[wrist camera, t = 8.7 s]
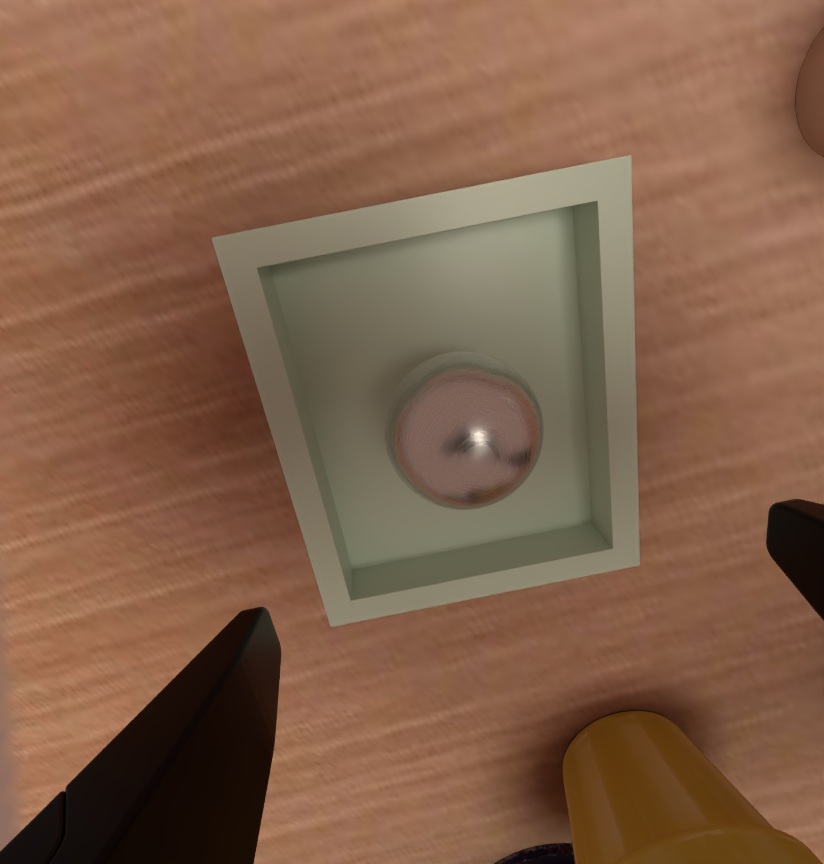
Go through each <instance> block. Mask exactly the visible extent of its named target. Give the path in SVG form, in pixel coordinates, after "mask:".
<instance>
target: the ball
mask: <svg viewBox="0 0 824 864" xmlns="http://www.w3.org/2000/svg"><path fill="white" fill-rule="evenodd" d="M543 436H544V428H543V417H542V412H541V409H540V405H539V402H538V400H537V398H536V396H535V394H534V391H533V390H532V388H531V387H530V385H529V384H528V382H527V381H526V380H525V379H524V378H523V377H522V376H521V375H520V374H519V372H517V371H516V370H515V369H514V368H512V367H511V366H510V365H508V364H506V363H505V362H503V361H501V360H499V359H497V358H495V357H493V356H490V355H487V354H483V353H479V352H471V351H457V352H450V353H445V354H441V355H438V356H435V357H433V358H430V359H428V360H426V361H425V362H423V363H421V364H420V365H418V366H417V367H416V368H414V369H413V370H412V371H411V372H410V373H409V374H408V375H407V376H405V378H404V379H403V380H402V381H401V383H400V384H399V385H398V387H397V388H396V390H395V392H394V393H393V395H392V397H391V400H390V402H389V404H388V408H387V411H386V416H385V424H384V439H385V445H386V449H387V453H388V456H389V459H390V462H391V464H392V466H393V468H394V470H395V471H396V473H397V474H398V476H399V477H400V479H401V480H402V481H403V482H404V483H405V485H406V486H407V487H408V488H409V489H411V490H412V491H413V492H414V493H415V494H417V495H418V496H420V497H421V498H423V499H424V500H426V501H428V502H430V503H432V504H435V505H438V506H441V507H445V508H450V509H456V510H472V509H479V508H483V507H487V506H490V505H493V504H495V503H498V502H500V501H501V500H503V499H505V498H507V497H508V496H510V495H511V494H513V493H514V492H515V491H516V490H517V489H518V488H520V487H521V486H522V484H523V483H524V482H525V481H526V480H527V479H528V477H529V476H530V474H531V473H532V471H533V469H534V467H535V466H536V463H537V461H538V458H539V456H540V453H541V449H542V445H543Z"/></svg>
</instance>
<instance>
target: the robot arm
mask: <svg viewBox="0 0 824 864" xmlns="http://www.w3.org/2000/svg"><path fill="white" fill-rule="evenodd" d="M766 545H767V549H768V552H769V554H770V556H771V557H772V559H773V560H774V561H775V562H776V564H777V565H778V566H779V567H780V568H781V570H782V571H783V572H784V573H785V574H786V576H787V577H788V578H789V579H790V580H791V582H792V583H793V584H794V585H795V587H796V588H797V589H798V590H799V591H800V593H801V594H802V595H803V596H804V597H805V599H806V600H807V601H808V602H809V604H810V605H811V606H812V607H813V608H814V610H815V611H816V612H817V613H818V614H819V616H820V617H821V618H822V619H823V620H824V505H823V504H819V503H814V502H810V501H805V500H801V499H793V500H788V501H783V502H778V503H775V504H773V505H772V506H771V507H770V509H769V515H768V526H767V538H766ZM280 665H281V647H280V642H279V639H278V636H277V634H276V631H275V628H274V625H273V623H272V620H271V617H270V614H269V612H268V611H267V609H266V608H264V607H257V608H252V609H247V610H243V611H241V612H240V613H239V614H238V615H237V616H236V617H235V618H234V619H233V620H232V621H231V622H230V623H229V624H228V625H227V626H226V627H225V628H224V629H223V630H222V631H221V632H220V633H219V634H218V635H217V636H216V637H215V638H214V639H213V640H212V641H211V642H210V643H209V644H208V645H207V646H206V647H205V648H204V649H203V650H202V651H201V652H200V653H199V654H198V655H197V656H196V657H195V658H194V659H193V660H192V661H191V662H190V663H189V664H188V665H187V666H186V667H185V668H184V669H183V670H182V671H181V672H180V673H179V674H178V675H177V676H176V677H175V678H174V679H173V680H172V681H171V682H170V683H169V684H168V685H167V686H166V687H165V688H164V689H163V690H162V691H161V692H160V693H159V694H158V695H157V696H156V697H155V698H154V699H153V700H152V701H151V702H150V703H149V704H148V705H147V706H146V707H145V708H144V709H143V710H142V711H141V712H140V713H139V714H138V715H137V716H136V717H135V718H134V719H133V720H132V721H131V722H130V723H129V724H128V725H127V726H126V727H125V728H124V729H123V730H122V731H121V732H120V733H119V734H118V735H117V736H116V737H115V738H114V739H113V740H112V741H111V742H110V743H109V744H108V745H107V746H106V747H105V748H104V749H103V750H102V751H101V752H100V753H99V754H98V755H97V756H96V757H95V758H94V759H93V760H92V761H91V762H90V763H89V764H88V765H87V766H86V767H85V768H84V769H83V770H82V771H81V772H80V773H79V774H78V775H77V776H76V777H75V778H74V779H73V780H72V781H71V782H70V783H69V784H68V785H67V787H66V790H65V792H64V791H62V792H60V793H59V794H58V795H57V796H56V797H55V798H54V799H53V800H52V801H51V802H50V803H49V804H48V805H47V806H46V807H45V808H44V809H43V810H42V811H41V812H40V813H39V814H38V815H37V816H36V817H35V818H34V819H33V820H32V821H31V822H30V823H29V824H28V825H27V826H26V827H25V828H24V829H23V830H22V831H21V832H20V833H19V834H18V835H17V836H16V837H15V838H14V839H12V840H11V841H10V842H9V844H7V845H6V846H5V847H4V848H3V849H2V850H1V851H0V864H254V858H255V852H256V847H257V841H258V836H259V830H260V825H261V819H262V813H263V808H264V802H265V797H266V791H267V786H268V780H269V774H270V769H271V763H272V757H273V751H274V744H275V733H276V720H277V707H278V693H279V679H280Z"/></svg>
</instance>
